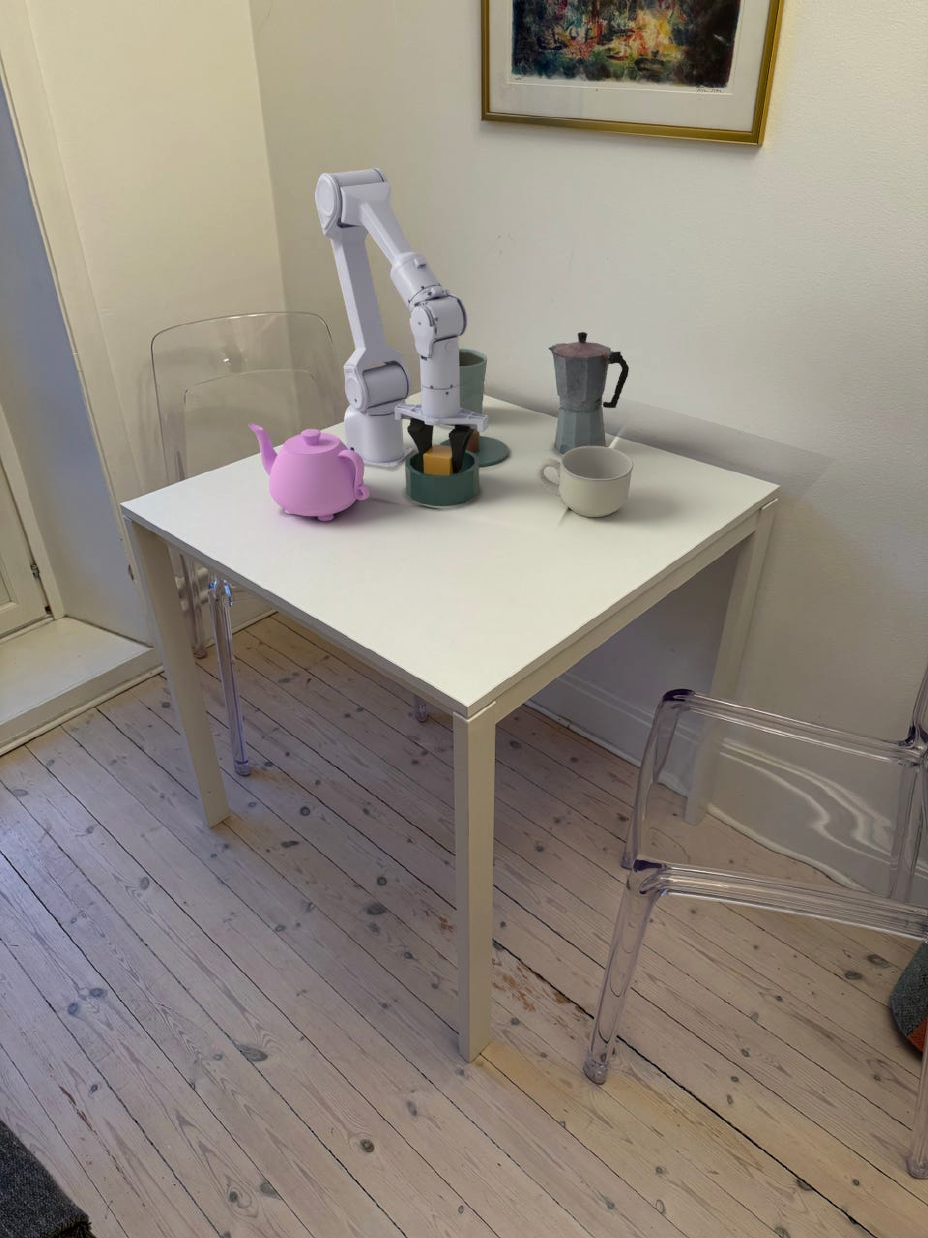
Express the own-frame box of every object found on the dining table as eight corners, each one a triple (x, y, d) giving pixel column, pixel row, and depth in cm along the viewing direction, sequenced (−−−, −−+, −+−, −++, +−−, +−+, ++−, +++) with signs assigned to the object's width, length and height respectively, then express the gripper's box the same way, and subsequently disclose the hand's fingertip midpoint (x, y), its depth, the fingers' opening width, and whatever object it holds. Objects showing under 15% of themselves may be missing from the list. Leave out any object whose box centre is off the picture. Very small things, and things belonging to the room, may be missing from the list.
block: (424, 479, 138) (423, 454, 135) (435, 468, 141) (434, 443, 139) (450, 484, 136) (449, 458, 134) (461, 472, 140) (460, 447, 137)
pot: (394, 502, 138) (392, 470, 135) (424, 472, 146) (423, 442, 143) (462, 514, 134) (462, 481, 131) (489, 483, 143) (489, 452, 140)
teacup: (634, 498, 138) (639, 450, 133) (621, 530, 129) (626, 479, 125) (547, 486, 142) (549, 439, 137) (529, 516, 133) (530, 467, 129)
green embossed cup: (436, 409, 170) (434, 347, 163) (488, 411, 169) (489, 348, 162) (429, 430, 161) (427, 365, 155) (484, 431, 161) (484, 366, 154)
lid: (424, 464, 149) (423, 439, 147) (452, 437, 159) (452, 413, 156) (493, 475, 145) (493, 449, 143) (517, 447, 155) (518, 422, 152)
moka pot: (557, 431, 160) (563, 319, 149) (634, 450, 153) (647, 334, 142) (529, 448, 154) (533, 333, 143) (608, 470, 146) (619, 349, 135)
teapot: (233, 513, 135) (220, 438, 128) (284, 476, 146) (275, 405, 139) (347, 537, 128) (340, 459, 122) (392, 496, 139) (388, 423, 132)
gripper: (383, 385, 129) (389, 471, 137) (475, 397, 125) (476, 485, 132) (404, 370, 135) (408, 453, 142) (493, 381, 130) (492, 467, 138)
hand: (442, 468), depth 138 cm, fingers closed on block, 4 cm apart
